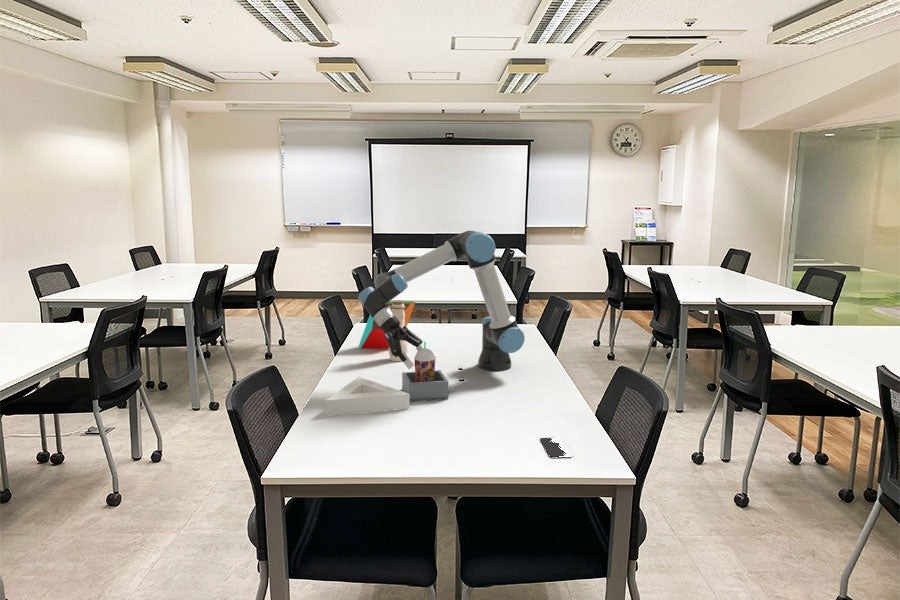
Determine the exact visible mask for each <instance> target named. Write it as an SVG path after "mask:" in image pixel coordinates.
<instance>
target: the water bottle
mask: <svg viewBox="0 0 900 600" xmlns="http://www.w3.org/2000/svg"><path fill="white" fill-rule="evenodd" d="M392 301H393V304H392V306H389V309H390V310H391V311H392V312H393V314H394V316H396V318H397V319H398V320H399V321H400V325H399V326H400V327H401V328H403V327H404V326H405V312H404V308H406V306H404V304H403V301H404V300H403V299H402V300H400V299H398V300H397V299H395V300H392ZM400 344H401V349H402V352H405V354H406V355H407V356H408V342H407V341H405V340H404V341H403V340H400ZM394 351H395V350H394ZM388 354H389V360H390V361H391V360H392V361H391V362H396V361H400V362H403V361H402V360H401V359H400V358H399V356H397V357H395V356H393V355H392V352H391V350H390V347H389V348H388Z"/></svg>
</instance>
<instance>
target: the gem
mask: <svg viewBox="0 0 900 600" xmlns="http://www.w3.org/2000/svg"><path fill="white" fill-rule="evenodd" d="M393 301H394V300H391V301H389V302H388V303H387V304H386V305H387V306H388V308H389V306H392V304H393ZM402 301H403V304H404V306H406V308H404V312H405V326H406V327H407V328H408V324H409V321H410V320H411V316H412V312H413V310H414V307H415V305H416V301H413V300H411V301H410V300H407V301H406V300H402ZM361 335H362V336H361V338H360V341H359V344H358V349H360V348H361V349H389V345H388V342H387V340H386V338H385V337H384V335H385V333H384V332H383V331H382V329H381V326H379V325H378V324H377V323H376V321H375V320H374V319H373V318H372V316H371V315H370V314H369V316H368V319H367V321H366V325H365V328H364V330H363V333H362V334H361Z"/></svg>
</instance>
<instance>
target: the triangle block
mask: <svg viewBox="0 0 900 600" xmlns="http://www.w3.org/2000/svg"><path fill="white" fill-rule="evenodd" d="M408 408H409V409H410V402H409V394H408V393H405V392H403V390H399V389H396V388H394V387H390V386H388V385H384V384H382V383H379V382H375V381H373V380H371V379H367V378H364V377H361V376H357V378H355V379H353V380H352V381H351V382H349V383H347V385H345V386H344V387H342V388H341V389H340V390H338V391H337V392H335V393H333V395H331V396H329V397H328V398H327V399H326V400H325V414H326V415H325V416H326V417H329V415H331V416H341V414H343V415H351V414H350V413H355V414H364V413H363V412H368V413H375V412H374V411H380V412H385V411H384V410H392V411H395V410H394V409H404V410H409V409H408Z"/></svg>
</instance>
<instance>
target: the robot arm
mask: <svg viewBox="0 0 900 600" xmlns="http://www.w3.org/2000/svg"><path fill="white" fill-rule="evenodd" d="M495 253H496V243H495V241H494V239H493V238H492V237H491V236H490V235H489V234H487V233H485V232H483V231H475V230H466V231H463V232H461V233H459V234H457V235H455V236H453V237H452V238H449V239H448V240H446V241H445V242H444V244H443V245H440V246H438V247H436V248H435V249H432V250H431V251H428V252H426V253H424V254H423V255H420V256H418V257H416V258H414V259H411V260H410V261H408V262H406V263H403V264H401V265H400V266H398V267H396V268H394V269H392V270H389V271H386V272H381V273H379V274H378V275H377V276H376V278H375V287H376V288H374V287H372V286H367V288H364V289H363V290H361V291H360V293H359V294H358V296H357V298H358V299H357V300H358V301H359V302H360V304H361V306H363V308H364V309H365V310H366V312H367V313H368V314H369V316H370V315H371V316H372V318H373V319H374V320H375V321H376V323H377V324H378V325H379V326H381V329H382V331H383V332H384V333H385V335H384V337H385V338H386V340H387V342H388V345H389V347H390V350H391V352H392V355H393V356H395V357H397V356H399V358H400V359H401V360H402V361H401V362H402V363H403V364H404V366H406V367H407V369H408V370H410V369H411V368H412V367H414V366H415V363H413V361H412V360H411V359H410V357H409V356H408V354H407V355H406V354H405V352H402V349H401V344H400V340H403V341H404V340H405V341H407V344H411V346H414V347H415V350H416V351H417V352H418V351H419V350H421V349H423V348H424V345H422V344H424V341H423V340H422V338H420V337H419V336H418V335H416V334H415V333H414V332H413V331H411V330H410V329H409V328H408V326H407V327H406V326H404V327H403V328H401V327H400V326H399V325H400V321H399V320H398V319H397V318H396V316H394V314H393V312H392V311H391V310H390V309H389V308H388V306H387V305H386V304H387V303H388V302H389V301H393V299H395V298H396V297H398V296H399V295H400V294H402V293H403V292H405V291H406V289H408V286H409V285H408V284H409V282H410V281H413V280H415V279H416V278H419V277H422V276H424V274H427V273H429V272H431V271H433V270H436V269H437V268H439V267H441V266H443V265H445V264H448V263H449V262H452V261H453V262H457V261H459V260H461V259H466V262H467V263H468V268H469V269H471V270H473V271H474V273H475V276H476V279H477V282H478V285H479V288H480V292H481V293H482V298H483V300H484V303H485V306H486V310H487V312H488V315H489V316H486V317H485V316H484V318H483V319H482V325H481V326H482V338H481V339H482V340H481V341H482V342H481V344H482V347H481V348H482V349H481V352H480V355H479V357H478V361H477V366H478V368H480V369H483V370H487V371H505V370H509V369H511V367H512V360H511V356H510V354H513V353H514V354H515V353H516V352H518V351H519V350H521V349H522V347H523V346H524V343H525V338H526V337H525V333H524V332H523V330H522V329H521V328H519V325H518V322H517V319H516V317H515V316H514V315H511V313H510V308H509V307H508V303H507V300H506V297H505V294H504V291H503V288H502V285H501V282H500V279H499V276H498V272H497V270H496V267H495V262H496V260H497V258H496V255H495ZM394 350H395V351H394Z"/></svg>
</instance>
